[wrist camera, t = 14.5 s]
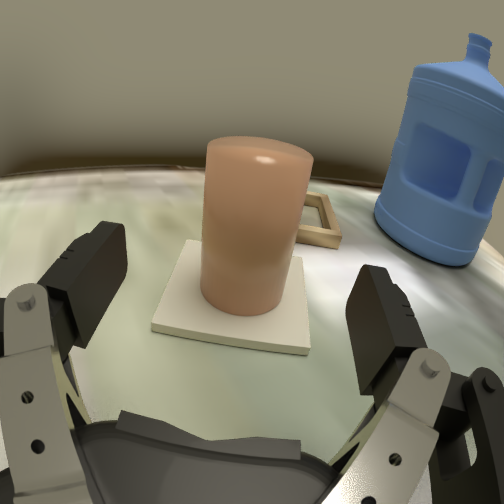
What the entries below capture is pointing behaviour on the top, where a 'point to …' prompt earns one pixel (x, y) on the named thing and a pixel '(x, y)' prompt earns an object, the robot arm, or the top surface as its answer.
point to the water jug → (446, 159)
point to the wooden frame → (330, 231)
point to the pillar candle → (250, 221)
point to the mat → (227, 325)
